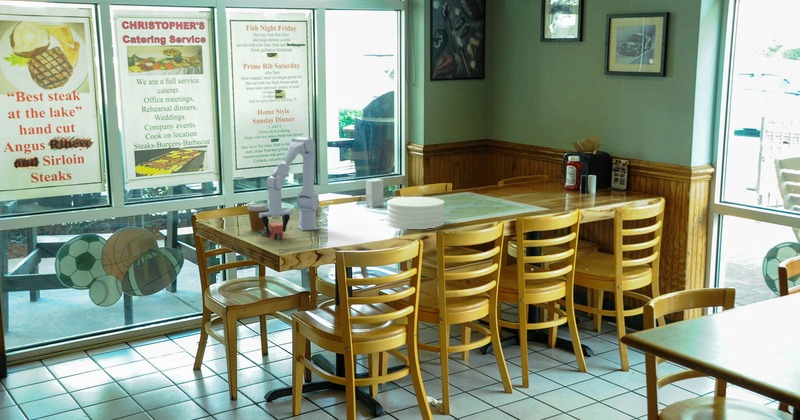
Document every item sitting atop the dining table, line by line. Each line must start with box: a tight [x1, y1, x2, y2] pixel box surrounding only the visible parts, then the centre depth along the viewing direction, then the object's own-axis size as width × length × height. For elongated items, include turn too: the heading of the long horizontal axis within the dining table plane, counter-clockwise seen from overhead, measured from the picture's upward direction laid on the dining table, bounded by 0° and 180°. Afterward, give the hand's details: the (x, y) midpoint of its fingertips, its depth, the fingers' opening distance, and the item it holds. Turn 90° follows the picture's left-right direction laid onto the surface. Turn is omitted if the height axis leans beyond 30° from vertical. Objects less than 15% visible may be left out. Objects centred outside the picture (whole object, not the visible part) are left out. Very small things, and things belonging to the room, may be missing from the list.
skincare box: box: [365, 178, 385, 208], centre depth 458 cm, size 8×6×15 cm
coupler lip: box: [260, 228, 281, 240], centre depth 385 cm, size 15×9×3 cm, turn 22°
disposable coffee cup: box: [246, 202, 269, 232], centre depth 397 cm, size 10×10×12 cm
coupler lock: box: [268, 222, 284, 240], centre depth 382 cm, size 7×5×6 cm, turn 22°
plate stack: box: [386, 196, 446, 230], centre depth 412 cm, size 28×28×12 cm
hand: (275, 232), depth 382 cm, fingers open, 7 cm apart
